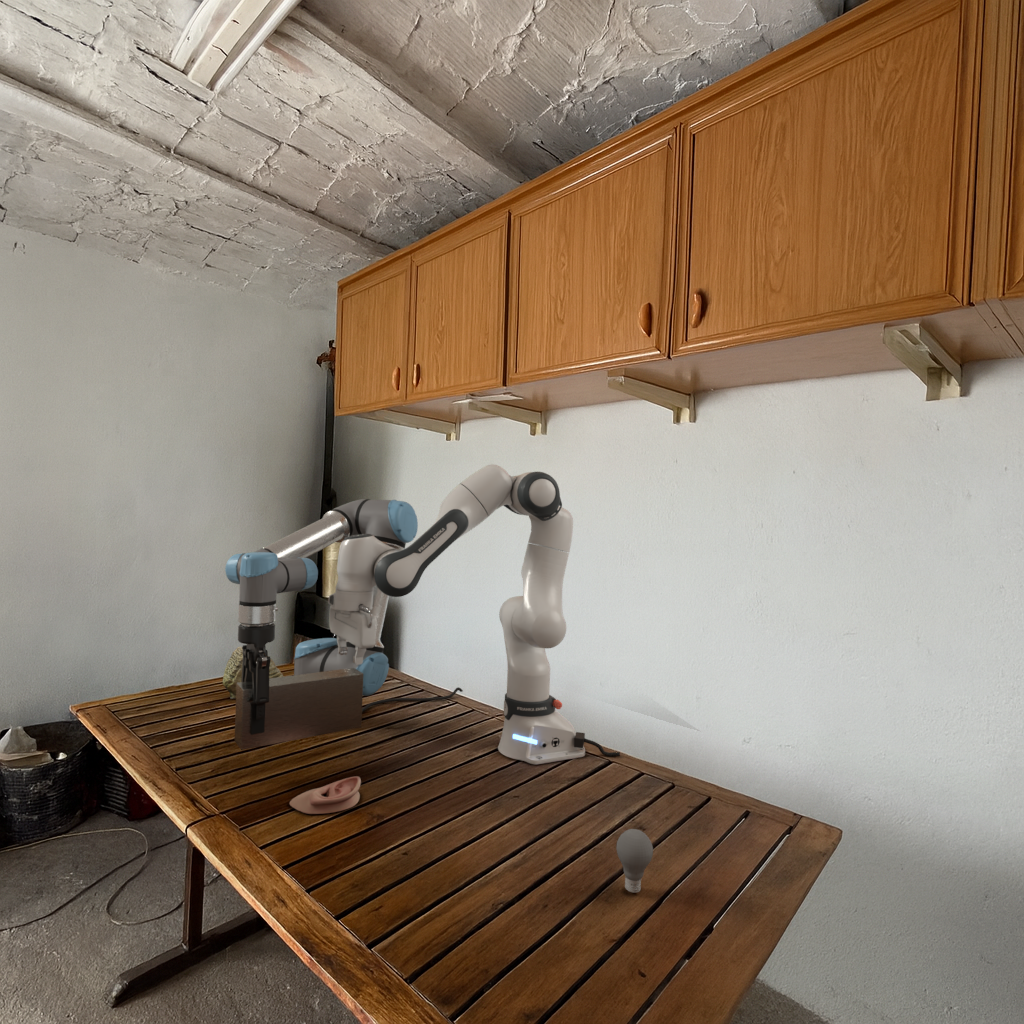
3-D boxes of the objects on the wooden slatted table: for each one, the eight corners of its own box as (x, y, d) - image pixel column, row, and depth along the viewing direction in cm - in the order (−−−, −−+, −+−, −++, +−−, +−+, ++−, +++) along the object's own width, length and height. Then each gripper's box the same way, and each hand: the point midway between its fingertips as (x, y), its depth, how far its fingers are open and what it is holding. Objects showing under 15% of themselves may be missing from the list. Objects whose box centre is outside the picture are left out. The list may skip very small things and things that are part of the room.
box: (241, 750, 135) (243, 689, 135) (234, 740, 140) (236, 682, 139) (361, 727, 151) (363, 673, 151) (351, 719, 156) (353, 667, 156)
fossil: (218, 695, 195) (220, 647, 195) (278, 685, 208) (279, 640, 207) (228, 703, 189) (230, 653, 188) (289, 692, 201) (290, 645, 201)
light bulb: (610, 879, 108) (613, 822, 108) (644, 879, 109) (647, 822, 109) (619, 902, 102) (622, 840, 102) (655, 901, 103) (658, 840, 103)
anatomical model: (281, 790, 127) (311, 767, 138) (281, 810, 127) (310, 785, 138) (342, 799, 124) (367, 775, 136) (342, 819, 124) (367, 793, 136)
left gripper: (287, 630, 133) (283, 739, 134) (262, 614, 148) (259, 712, 149) (250, 633, 129) (246, 746, 129) (228, 616, 144) (225, 717, 144)
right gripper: (384, 608, 145) (380, 668, 145) (350, 594, 161) (346, 648, 161) (358, 609, 141) (354, 671, 141) (326, 595, 158) (322, 650, 158)
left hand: (253, 727), depth 139 cm, fingers closed on box, 6 cm apart
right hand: (350, 659), depth 151 cm, fingers open, 8 cm apart
